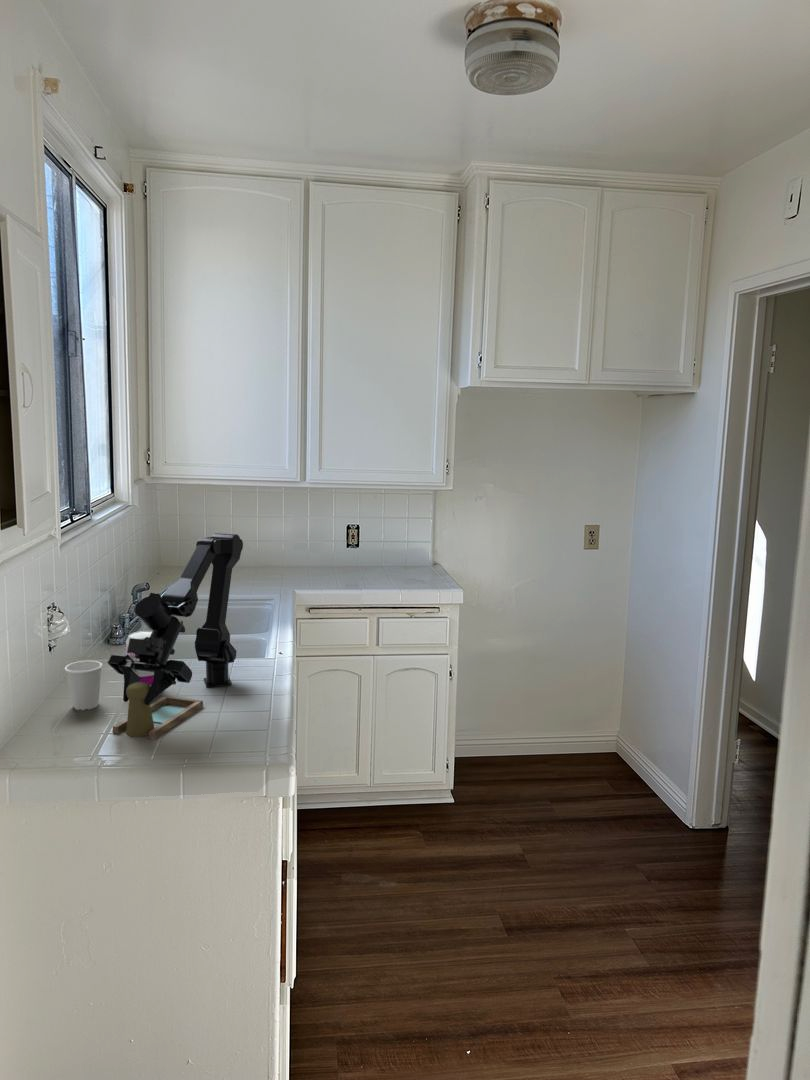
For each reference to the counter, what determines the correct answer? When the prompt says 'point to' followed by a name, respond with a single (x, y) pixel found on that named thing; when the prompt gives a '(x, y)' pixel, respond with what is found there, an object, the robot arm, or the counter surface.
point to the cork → (138, 710)
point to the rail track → (166, 714)
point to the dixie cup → (84, 683)
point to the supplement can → (144, 675)
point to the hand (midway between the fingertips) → (135, 702)
